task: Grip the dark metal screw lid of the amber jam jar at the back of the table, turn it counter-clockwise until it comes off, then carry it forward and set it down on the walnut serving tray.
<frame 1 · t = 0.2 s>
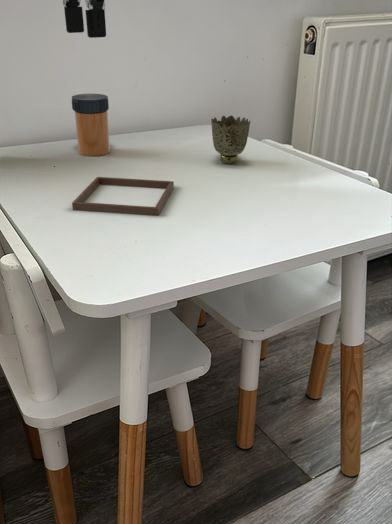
hand: (86, 34, 98), 22 cm above the table, tool pointing down, fingers open, 9 cm apart
lid: (89, 98, 109), point 10 cm above the table, screwed on, not yet turned
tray: (126, 203, 89), on the table
jar: (94, 151, 115), on the table
cup: (228, 163, 110), on the table
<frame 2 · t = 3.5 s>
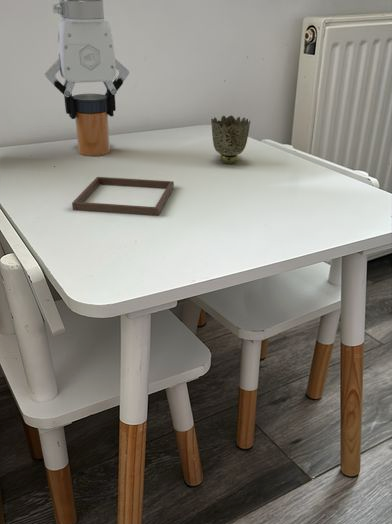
hand: (91, 115, 111), 7 cm above the table, tool pointing down, fingers closed on lid, 7 cm apart
lid: (90, 98, 109), point 10 cm above the table, screwed on, not yet turned, touching gripper
everything else where it was.
when the fingers open (6 cm above the table, at t = 5.7 s): lid stays where it is, point 10 cm above the table.
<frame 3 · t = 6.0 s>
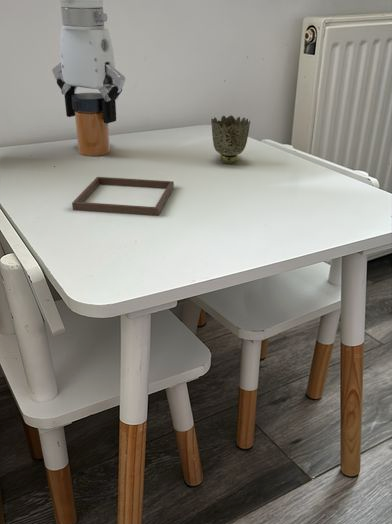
hand: (91, 118, 111), 6 cm above the table, tool pointing down, fingers open, 9 cm apart
lid: (89, 98, 109), point 10 cm above the table, turned 126° so far, risen 0.2 cm, still on its thread
everything else where it was.
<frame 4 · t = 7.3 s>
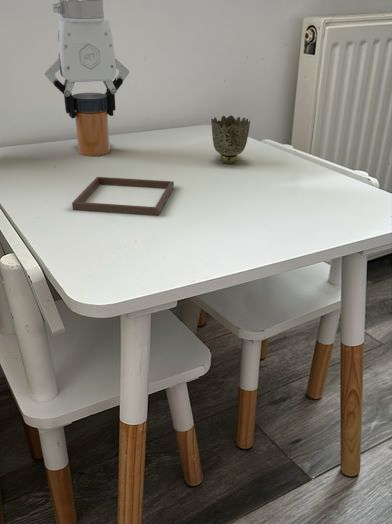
hand: (91, 115, 111), 7 cm above the table, tool pointing down, fingers closed on lid, 7 cm apart
lid: (89, 98, 109), point 10 cm above the table, turned 126° so far, risen 0.2 cm, still on its thread, touching gripper
everything else where it was.
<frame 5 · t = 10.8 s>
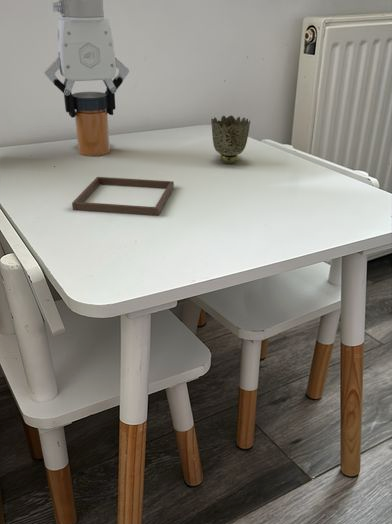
hand: (91, 114, 111), 7 cm above the table, tool pointing down, fingers closed on lid, 7 cm apart
lid: (89, 97, 109), point 10 cm above the table, turned 250° so far, risen 0.3 cm, still on its thread, touching gripper
everything else where it was.
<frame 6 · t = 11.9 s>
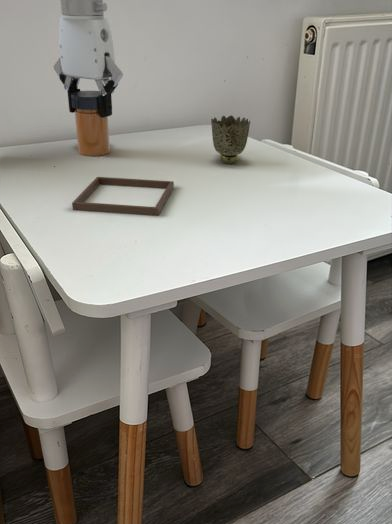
hand: (90, 113, 110), 7 cm above the table, tool pointing down, fingers closed on lid, 7 cm apart
lid: (89, 95, 109), point 11 cm above the table, off its thread, touching gripper
everything else where it was.
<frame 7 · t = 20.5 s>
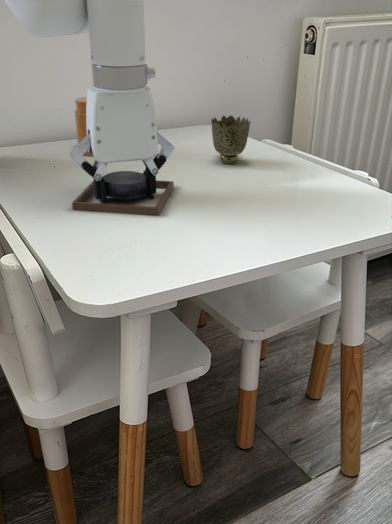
hand: (126, 199, 89), 1 cm above the table, tool pointing down, fingers closed on lid, 7 cm apart
lid: (125, 180, 87), point 4 cm above the table, off its thread, touching gripper
everything else where it was.
when the fingers open (1 cm above the table, at t = 28.9 s): lid drops 2 cm, resting on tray.
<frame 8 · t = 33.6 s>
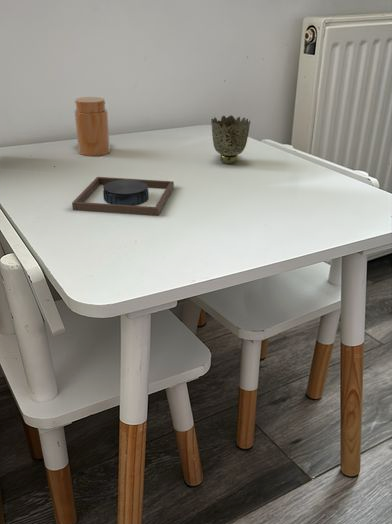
lid: (125, 188, 88), point 2 cm above the table, off its thread, touching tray
everything else where it was.
at the end: lid came off its thread; lid inside the target area on the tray (0.0 cm from its centre), point 2.4 cm above the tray's base; the gripper is holding nothing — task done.
